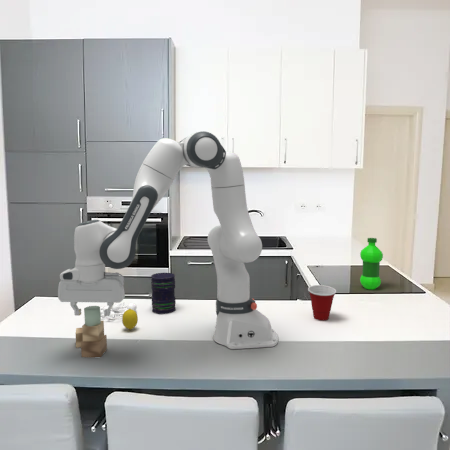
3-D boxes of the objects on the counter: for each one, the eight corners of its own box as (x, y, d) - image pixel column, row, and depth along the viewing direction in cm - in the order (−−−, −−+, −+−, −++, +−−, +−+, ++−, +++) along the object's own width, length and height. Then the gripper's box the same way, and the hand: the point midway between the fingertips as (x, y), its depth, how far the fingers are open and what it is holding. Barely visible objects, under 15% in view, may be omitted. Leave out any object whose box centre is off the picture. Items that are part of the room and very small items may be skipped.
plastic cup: (310, 323, 156) (311, 292, 154) (304, 313, 167) (305, 285, 165) (339, 323, 156) (340, 292, 155) (330, 313, 167) (331, 284, 165)
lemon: (131, 325, 154) (131, 305, 153) (141, 329, 150) (140, 308, 149) (119, 330, 150) (118, 309, 149) (128, 334, 146) (128, 312, 145)
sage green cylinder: (103, 320, 132) (102, 305, 131) (97, 326, 127) (96, 310, 126) (88, 320, 132) (87, 305, 131) (82, 326, 127) (81, 310, 126)
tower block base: (107, 349, 133) (106, 334, 133) (100, 357, 128) (99, 342, 127) (89, 349, 134) (88, 334, 133) (81, 357, 128) (80, 342, 127)
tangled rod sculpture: (79, 324, 159) (78, 315, 158) (93, 309, 173) (92, 300, 172) (127, 324, 157) (126, 314, 157) (138, 309, 171) (137, 300, 171)
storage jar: (173, 305, 178) (172, 271, 176) (177, 312, 168) (177, 277, 167) (150, 307, 175) (149, 273, 173) (153, 315, 165) (152, 279, 163)
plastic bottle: (355, 288, 203) (357, 238, 200) (365, 284, 211) (367, 236, 207) (374, 292, 196) (376, 240, 193) (384, 288, 203) (387, 238, 200)
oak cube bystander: (92, 340, 141) (91, 326, 140) (92, 346, 136) (91, 331, 136) (76, 342, 139) (76, 328, 139) (76, 348, 135) (75, 333, 134)
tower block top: (104, 335, 132) (103, 320, 132) (98, 341, 127) (97, 326, 127) (89, 335, 133) (88, 320, 132) (82, 341, 128) (82, 326, 127)
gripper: (126, 270, 130) (128, 312, 132) (63, 269, 131) (65, 311, 133) (120, 275, 124) (122, 319, 125) (54, 274, 125) (56, 318, 126)
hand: (92, 315), depth 129 cm, fingers open, 8 cm apart
